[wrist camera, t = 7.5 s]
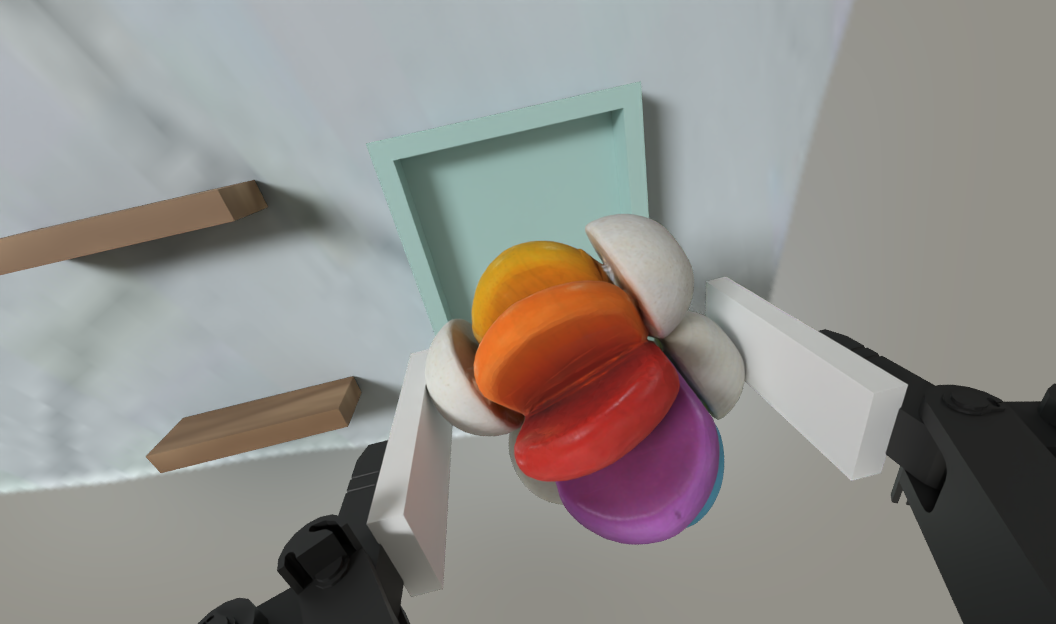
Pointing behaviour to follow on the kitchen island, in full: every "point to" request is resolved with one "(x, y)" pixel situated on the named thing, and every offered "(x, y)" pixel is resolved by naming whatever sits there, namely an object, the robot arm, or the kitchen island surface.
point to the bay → (220, 427)
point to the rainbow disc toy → (596, 378)
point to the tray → (510, 187)
